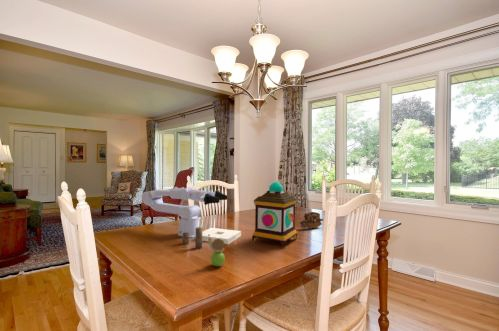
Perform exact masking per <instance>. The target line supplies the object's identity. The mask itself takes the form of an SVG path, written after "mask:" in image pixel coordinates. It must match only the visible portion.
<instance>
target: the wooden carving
mask: <svg viewBox="0 0 499 331" xmlns="http://www.w3.org/2000/svg"><path fill="white" fill-rule="evenodd" d="M303 217H304V219H301V220H300V221H299V223H300V226H301V228H302V229H306V228H307V229H312V228H314V229H318V228H319V227H320V226H321V225H323V224H322V221H324V218H321V214H320V213H319V212H315V211H308V212H306V213H304V216H303Z"/></svg>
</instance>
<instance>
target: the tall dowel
mask: <svg viewBox="0 0 499 331" xmlns="http://www.w3.org/2000/svg"><path fill="white" fill-rule="evenodd" d="M202 232H203V228H202V227H199V226H198V227H197V228H196V236H195V237H194V238H195V243H194V244H195V246H194V247H195V249H196V250H202V248H203V241H202Z"/></svg>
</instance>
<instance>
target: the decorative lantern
mask: <svg viewBox="0 0 499 331" xmlns="http://www.w3.org/2000/svg"><path fill="white" fill-rule="evenodd" d="M297 202H298V199H297V198H296V197H294V196H293V195H290V194H289V193H287V192H286V191H285V190H284V187H283V185H282V184H281V183H280V182H279V181H278V180H277V181H273V182H271V184H270V185H269V186H268V190H266V192H265V193H263V194H262V195H260V196H259V195H258V196H257V197H256V198H255V199H253V204H254V207H255V208H254V209H255V211H254V212H255V218H254V222H255V223H254V228H255V229H254V231H253V234H252V235H251V240H252V243H256V240H257V238H258V239H264V240H269V241H273V242H274V241H275V242H280V243H281V246H282V249H284V248H285V247H286V244H287V243H286V242H288V241H289V240H290V239H292V238H293V239H294V240H295V239H296V240H297V238H298V232H297V230H296V227H295V226H296V225H295V224H296V222H295V221H296V220H295V218H296V215H295V214H296V203H297Z"/></svg>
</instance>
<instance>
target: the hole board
mask: <svg viewBox="0 0 499 331" xmlns="http://www.w3.org/2000/svg"><path fill="white" fill-rule="evenodd" d="M208 234H210V236H208ZM241 236H242V230H235V229H228V228H227V229H226V228H217V227H210V228H208V229H205V230H202V242H208V243H209V241H208V238H209V237H211V238H212V243H213V241H214V240H215V239H218V238H219V239H222V240H223V241H224V243H225V245H230V244H231V243H232V242H234V241H235V240H237V239H239V238H240V237H241Z"/></svg>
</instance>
